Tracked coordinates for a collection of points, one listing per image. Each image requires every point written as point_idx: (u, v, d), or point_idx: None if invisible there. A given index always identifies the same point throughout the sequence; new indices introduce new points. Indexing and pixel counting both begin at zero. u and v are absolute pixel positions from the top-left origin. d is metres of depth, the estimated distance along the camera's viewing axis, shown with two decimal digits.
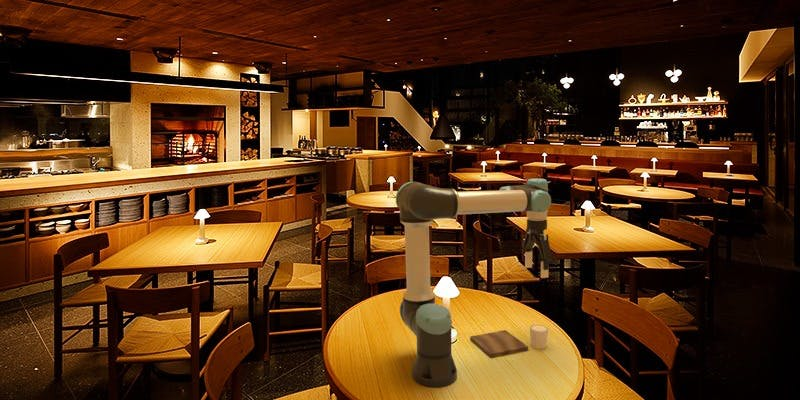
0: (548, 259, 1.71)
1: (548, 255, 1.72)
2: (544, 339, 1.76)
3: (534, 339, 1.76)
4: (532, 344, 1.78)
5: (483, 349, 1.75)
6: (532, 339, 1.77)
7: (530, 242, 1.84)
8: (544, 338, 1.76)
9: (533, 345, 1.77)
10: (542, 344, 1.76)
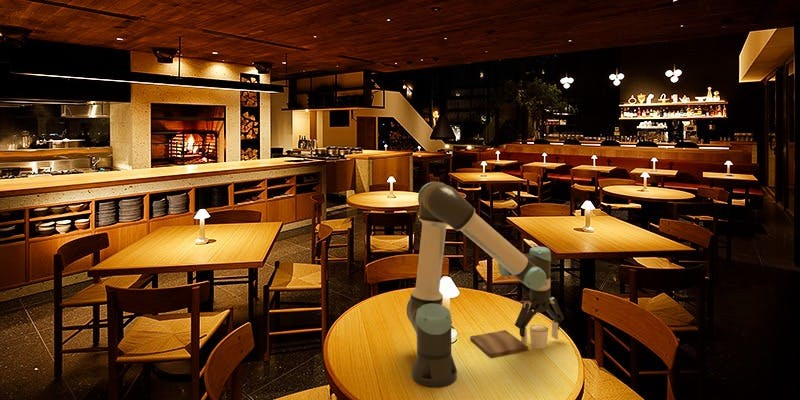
0: (516, 325, 1.75)
1: (518, 322, 1.74)
2: (544, 339, 1.76)
3: (534, 339, 1.76)
4: (532, 344, 1.78)
5: (483, 349, 1.75)
6: (532, 339, 1.77)
7: (546, 310, 1.79)
8: (544, 338, 1.76)
9: (533, 345, 1.77)
10: (542, 344, 1.76)
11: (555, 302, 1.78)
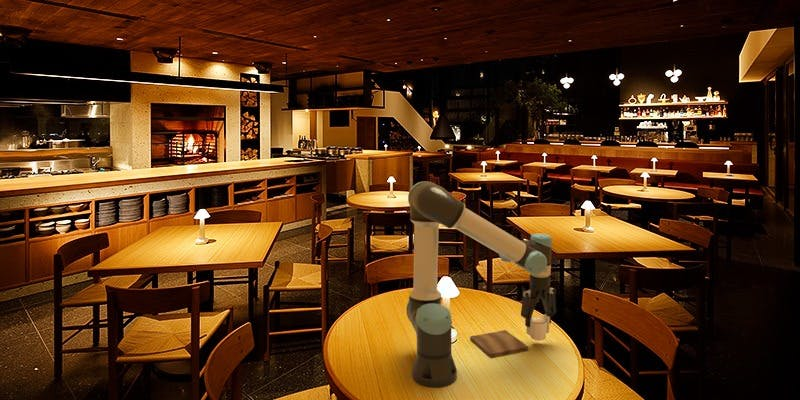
0: (522, 316, 1.75)
1: (522, 312, 1.75)
2: (543, 331, 1.75)
3: (533, 331, 1.76)
4: (531, 336, 1.78)
5: (483, 349, 1.75)
6: None
7: (542, 300, 1.78)
8: (543, 330, 1.75)
9: (532, 337, 1.77)
10: (541, 336, 1.75)
11: (554, 293, 1.77)
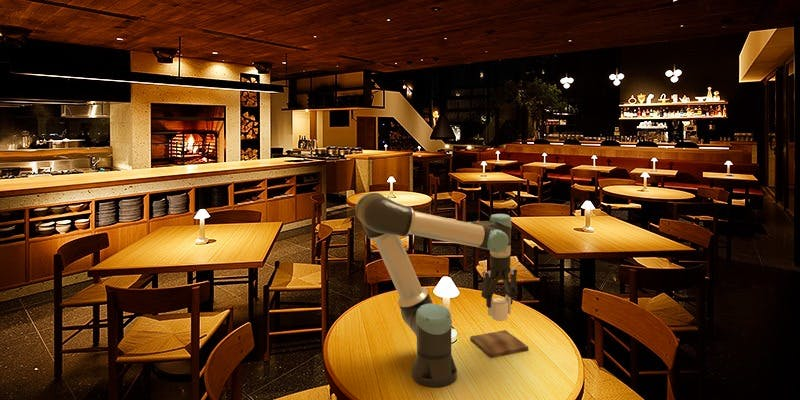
0: (482, 296, 1.75)
1: (483, 293, 1.75)
2: (504, 311, 1.75)
3: (494, 311, 1.76)
4: (493, 316, 1.78)
5: (483, 349, 1.75)
6: None
7: (503, 281, 1.78)
8: (504, 310, 1.75)
9: (494, 317, 1.77)
10: (502, 316, 1.75)
11: (514, 273, 1.77)
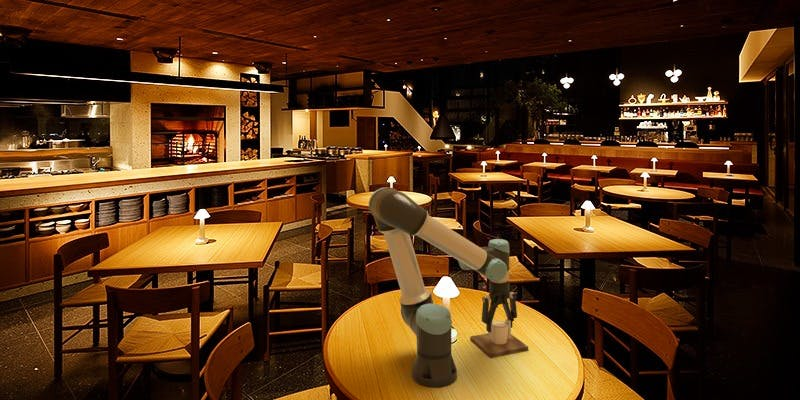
0: (482, 321, 1.77)
1: (483, 318, 1.76)
2: (504, 335, 1.77)
3: (494, 335, 1.78)
4: None
5: (483, 349, 1.75)
6: None
7: (503, 305, 1.79)
8: (504, 334, 1.77)
9: (493, 341, 1.79)
10: (502, 340, 1.77)
11: (514, 297, 1.78)
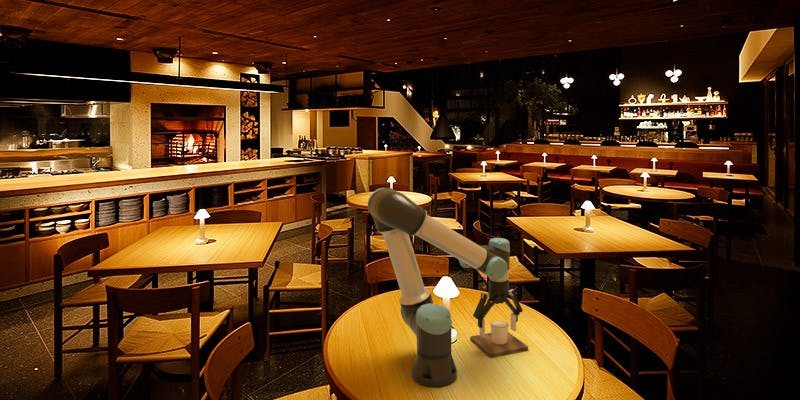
0: (474, 316, 1.75)
1: (476, 312, 1.75)
2: (504, 335, 1.77)
3: (494, 335, 1.78)
4: (492, 340, 1.79)
5: (483, 349, 1.75)
6: (492, 335, 1.78)
7: (505, 302, 1.80)
8: (504, 334, 1.77)
9: (493, 341, 1.79)
10: (502, 340, 1.77)
11: (514, 294, 1.78)
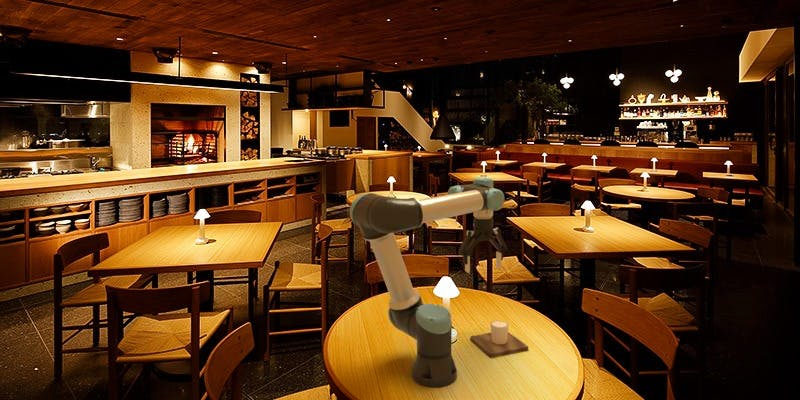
0: (459, 253, 1.81)
1: (461, 249, 1.80)
2: (504, 335, 1.77)
3: (494, 335, 1.78)
4: (492, 340, 1.79)
5: (483, 349, 1.75)
6: (492, 335, 1.78)
7: (490, 241, 1.85)
8: (504, 334, 1.77)
9: (493, 341, 1.79)
10: (502, 340, 1.77)
11: (498, 232, 1.83)
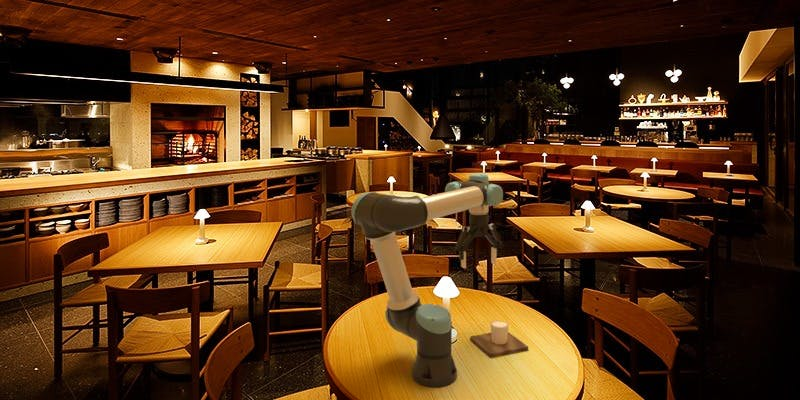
0: (455, 248, 1.82)
1: (457, 245, 1.82)
2: (504, 335, 1.77)
3: (494, 335, 1.78)
4: (492, 340, 1.79)
5: (483, 349, 1.75)
6: (492, 335, 1.78)
7: (485, 236, 1.87)
8: (504, 334, 1.77)
9: (493, 341, 1.79)
10: (502, 340, 1.77)
11: (494, 228, 1.85)
